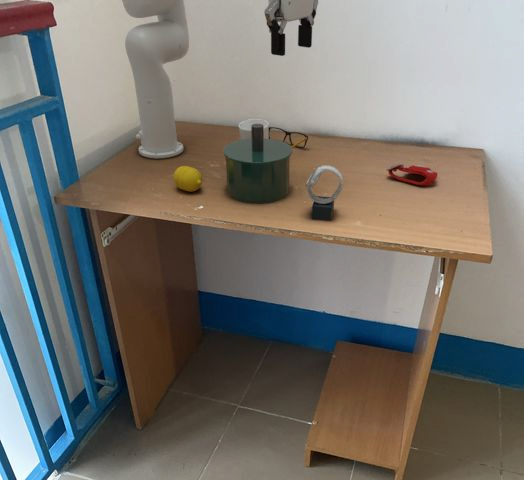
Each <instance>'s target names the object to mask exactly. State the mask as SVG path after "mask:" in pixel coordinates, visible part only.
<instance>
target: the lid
mask: <svg viewBox="0 0 524 480" xmlns="http://www.w3.org/2000/svg"><path fill="white" fill-rule="evenodd" d="M251 135H252V138H251V139H243V140H240V139H239V140H235V141H232V142H230V143H228V144H226V145H225V146H224V148H223V149H222V151H223V156H224V157H225V159H226V158H228V159H229V160H232V161H234V162H238V163H243V164H253V165H260V164H271V163H276V162H280V161H283V160H285V159H287V158H288V157H290V158H291V156H292V155H293V148H291V146H292V145H291V144H288V143H287V142H285V141H284V142H283V141H281V140H277V139H273V138H270V139H267V138H264V126H263V125H262V124H253V125H251Z"/></svg>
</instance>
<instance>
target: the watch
mask: <svg viewBox="0 0 524 480" xmlns="http://www.w3.org/2000/svg"><path fill="white" fill-rule="evenodd" d="M326 171H327V172H331V173H333V174H334V175H336V177H337V178H338V180H339V183H338V187H337V188H336V190H335V191H334V193H332V194H331V196H322V195H321V196H320V195H315V193H313V190H312V189H313V188H314V187H315V185H316V184H317V183H318V181H319V180H320V177H321V176H322V174H323V172H326ZM343 182H344V178H343V175H342V173H341V172H340V171H339V169H337V168H336V167H335V166H332V165H329V164H328V165H327V164H323V165H320V166H316V167H315V169H313V172H312V173H311V175H310V176H309V177H308V180H307V182H306V184H305V187H306V188H307V189H306V193H307V195H308V197H309V198H310V200H312V201H313V203H312V205H311V220H314V221H315V220H316V221H326V222H327V221H328V222H332V218H333V214H334V211H335V201H336V200H337V198H338V197H339V195H340V193H341V191H342V189H343V185H344V183H343Z"/></svg>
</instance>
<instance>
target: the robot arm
mask: <svg viewBox="0 0 524 480" xmlns="http://www.w3.org/2000/svg"><path fill="white" fill-rule="evenodd" d="M121 1H122V5H123V8H124V11H125V12H126V13H127V15H129V16H130V17H131V18H134V19H145V18H149V17H155V16H157V21H153V22H148V23H143V24H139V25H136V26H134V27H132V28H131V29H130V30H129V31H128V32H127V33H126V36H125V40H124V47H125V52H126V56H127V58H128V62H129V64H130V68H131V71H132V77H133V83H134V87H135V94H136V102H137V108H138V116H139V122H140V129H139V131H138V133H137V134H136V135H135V139H136V140H139V141H140V143H141V145H139V147H138V153H139V155H140V156H142V157H145V158H148V159H169V158H172V157H176V156H178V155H180V154H182V153H183V152H184V150H185V148H184V144H183V143H182V142H180V141H179V140H178V135H177V127H176V116H175V106H174V105H175V104H174V98H173V88H172V82H171V79H170V76H169V75H168V73H167V71H166V70H165V69H164V66H163V65H164V64H168V63H172V62H175V61H178V60H181V59H183V58H185V56H187V54H188V51H189V48H190V35H189V27H188V21H187V14H186V7H185V1H184V0H121ZM318 5H319V0H268V5H267V6H266V8H265V9H264V11H263V14H264V17H265V21H266V26H267V28H268V32H269V33H270V54H271V55H274V56H280V57H283V56H285V55H286V33H284V31H285V29H286V26H287V24H288V22H289V23H290V22H294V21H298V22H299V23H300V24H298V28H297V29H298V32H297V46H298V47H302V48H311V47H312V43H313V26H314V24H315V20H314V19H315V17H316V16H317V9H318Z"/></svg>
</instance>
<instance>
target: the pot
mask: <svg viewBox="0 0 524 480" xmlns="http://www.w3.org/2000/svg"><path fill="white" fill-rule="evenodd" d="M290 159H291V156H290V157H288V158H287V159H285V160H283V161H280V162H276V163H271V164H260V165H253V164H243V163H238V162H234V161H232V160H229V159H228V158H226V157H225V167H226V168H225V169H226V185H227V186H226V189H227V194H228V195H229V197H231V198H232V199H234V200H236V201H239V202H242V203H248V204H268V203H274V202H276V201H280V200H281V199H284V198H286V196H287V195H288V194H289V191H290V161H291V160H290Z"/></svg>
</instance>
